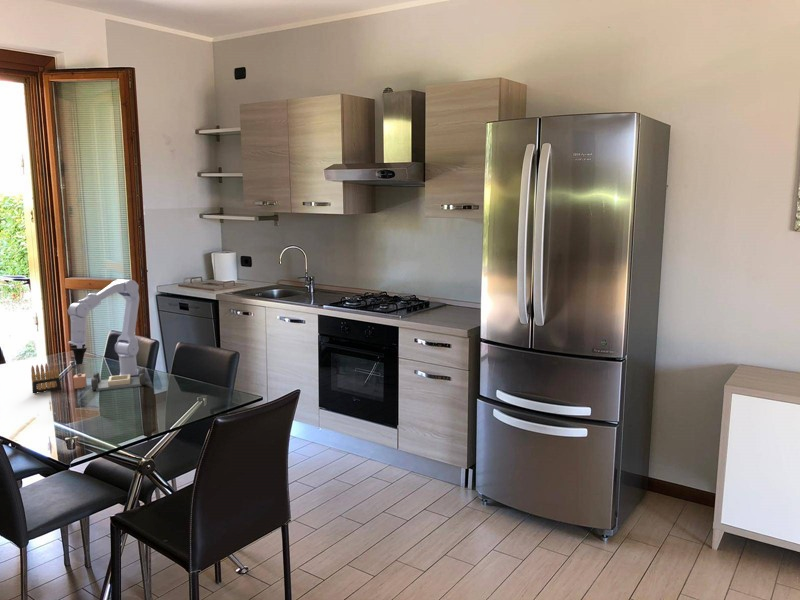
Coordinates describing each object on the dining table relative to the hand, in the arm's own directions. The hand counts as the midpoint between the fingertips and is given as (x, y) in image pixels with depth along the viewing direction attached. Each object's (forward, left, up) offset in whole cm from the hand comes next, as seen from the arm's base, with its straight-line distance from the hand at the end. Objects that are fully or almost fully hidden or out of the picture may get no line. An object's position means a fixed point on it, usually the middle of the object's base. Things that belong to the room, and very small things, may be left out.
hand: (78, 362), depth 285 cm
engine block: (-3, -1, -12) cm, 12 cm away
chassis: (0, +15, -11) cm, 19 cm away
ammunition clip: (-2, -14, -12) cm, 18 cm away
